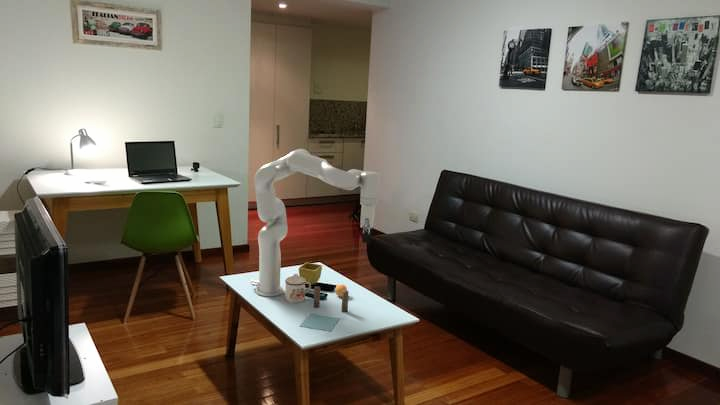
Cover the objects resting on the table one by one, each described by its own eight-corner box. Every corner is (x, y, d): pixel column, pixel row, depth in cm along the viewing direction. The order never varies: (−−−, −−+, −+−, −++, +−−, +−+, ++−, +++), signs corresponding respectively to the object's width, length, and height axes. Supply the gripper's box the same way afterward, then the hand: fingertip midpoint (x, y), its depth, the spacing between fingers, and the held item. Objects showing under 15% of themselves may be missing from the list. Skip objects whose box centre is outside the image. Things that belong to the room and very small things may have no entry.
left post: (312, 307, 240) (313, 288, 239) (314, 305, 243) (315, 286, 241) (318, 308, 240) (319, 288, 238) (320, 306, 242) (321, 286, 240)
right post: (340, 312, 238) (341, 292, 236) (342, 309, 240) (343, 290, 238) (346, 312, 237) (347, 293, 235) (348, 310, 239) (349, 290, 238)
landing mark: (299, 326, 222) (299, 325, 222) (310, 313, 234) (310, 313, 234) (330, 331, 219) (330, 330, 219) (340, 318, 231) (340, 317, 231)
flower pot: (314, 288, 262) (315, 270, 260) (297, 285, 265) (298, 267, 263) (322, 282, 270) (322, 265, 268) (305, 279, 273) (306, 262, 271)
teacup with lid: (289, 304, 243) (290, 279, 240) (281, 297, 250) (282, 272, 248) (314, 300, 249) (315, 275, 246) (306, 293, 256) (306, 269, 254)
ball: (333, 297, 253) (333, 285, 252) (336, 293, 258) (337, 281, 257) (344, 299, 252) (345, 287, 251) (348, 294, 257) (348, 283, 256)
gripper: (362, 196, 246) (360, 233, 250) (357, 204, 229) (355, 244, 233) (379, 197, 245) (377, 234, 249) (376, 205, 228) (373, 245, 232)
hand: (367, 239), depth 241 cm, fingers open, 9 cm apart
